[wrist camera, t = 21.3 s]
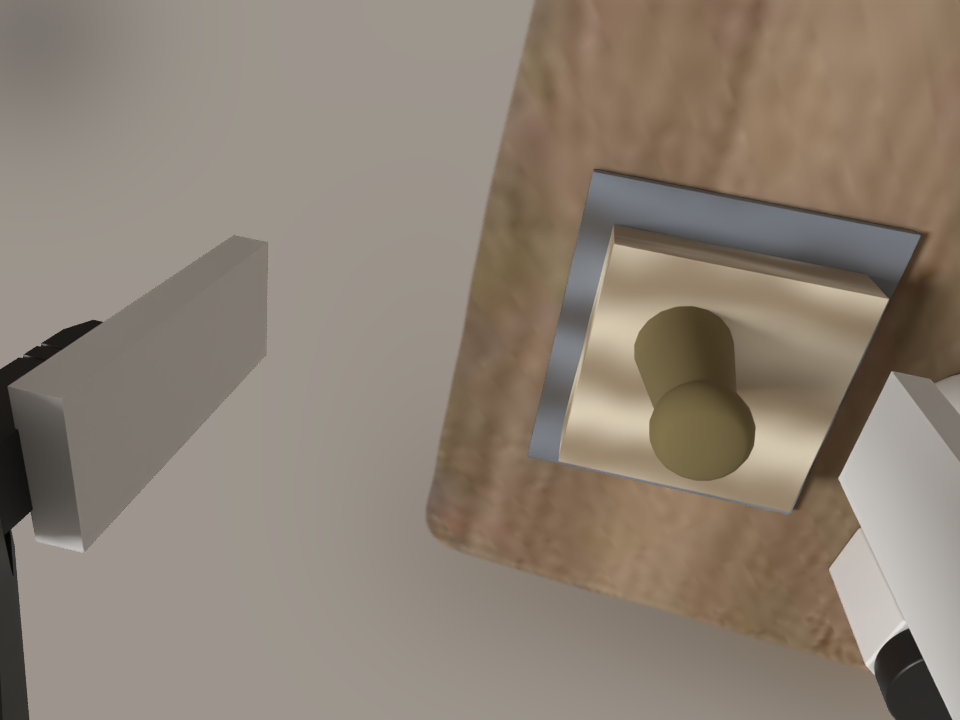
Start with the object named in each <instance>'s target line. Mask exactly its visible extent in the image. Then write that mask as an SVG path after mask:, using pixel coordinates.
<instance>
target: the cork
mask: <svg viewBox="0 0 960 720" xmlns="http://www.w3.org/2000/svg"><path fill="white" fill-rule="evenodd" d="M634 359H635V362H636V364H637V367H638V370H639V372H640V375H641V377H642V380H643V382H644V385H645V387H646V390H647V393H648V395H649V398H650V400H651V403H652V405H653V408H654V411H653V413H652V416H651V418H650V421H649V438H650V443H651V445H652V448H653V450H654V453H655V455H656V456H657V458H658V459H659V460H660V462H661V463H662V464H663V465H664V466H665V467H666V468H667V469H668V470H670V471H672V472H674V473H675V474H677V475H679V476H681V477H683V478H687V479H691V480H695V481H711V480H715V479H719V478H723V477H725V476H727V475H729V474H731V473H733V472H734V471H736V470H737V469H738V468H739V467H740V466H741V465H742V464H743V463H744V462H745V461H746V460H747V459H748V457H749V455H750V453H751V451H752V449H753V447H754V442H755V430H756V426H755V423H754V420H753V416H752V413H751V411H750V408H749V407H748V405H747V404H746V403H745V402H744V400H743V399H742V398H741V397H740V396H739V395H738V394H737V388H736V370H735V353H734V341H733V338H732V335H731V332H730V329H729V328H728V327H727V325H726V324H725V323H724V321H723V320H722V319H721V318H720V317H718V316H717V315H715V314H714V313H712V312H710V311H709V310H706V309H702V308H698V307H694V306H679V307H674V308H670V309H667V310H664V311H661V312H660V313H658V314H657V315H655V316H654V317H652V318H651V319H649V320H648V321H647V322H646V324H645V325H644V326H643V327H642V329H641V330H640V331H639V333H638V336H637V339H636V341H635V344H634Z"/></svg>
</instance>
